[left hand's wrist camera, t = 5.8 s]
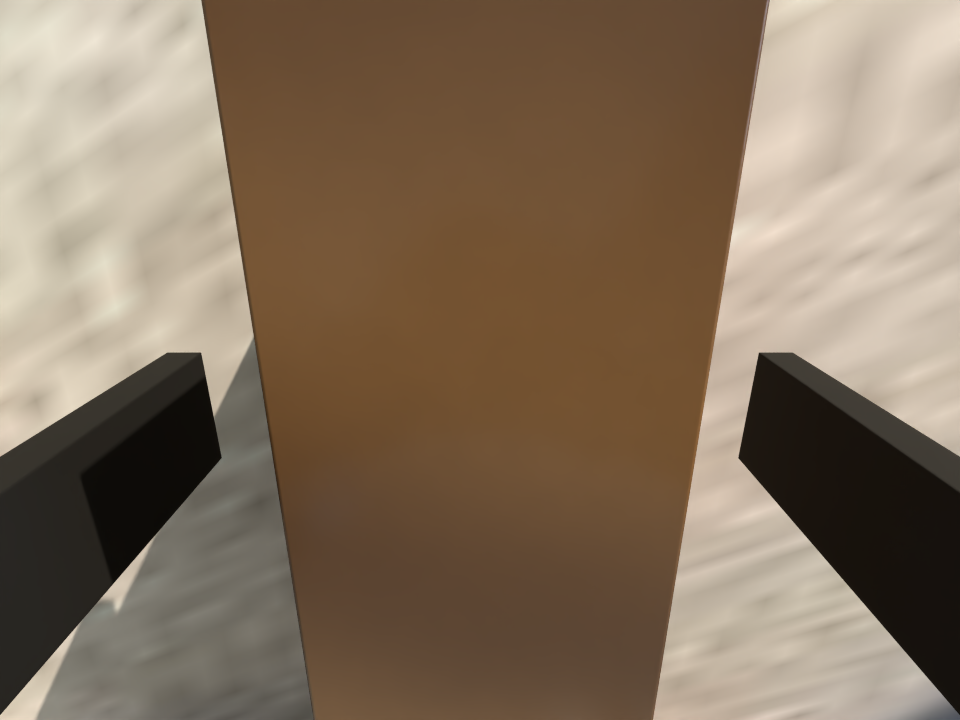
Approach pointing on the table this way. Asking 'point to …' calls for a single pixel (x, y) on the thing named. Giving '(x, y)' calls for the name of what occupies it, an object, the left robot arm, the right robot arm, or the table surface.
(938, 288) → the table surface
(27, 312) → the table surface
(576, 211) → the bar
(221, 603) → the table surface
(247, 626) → the table surface
